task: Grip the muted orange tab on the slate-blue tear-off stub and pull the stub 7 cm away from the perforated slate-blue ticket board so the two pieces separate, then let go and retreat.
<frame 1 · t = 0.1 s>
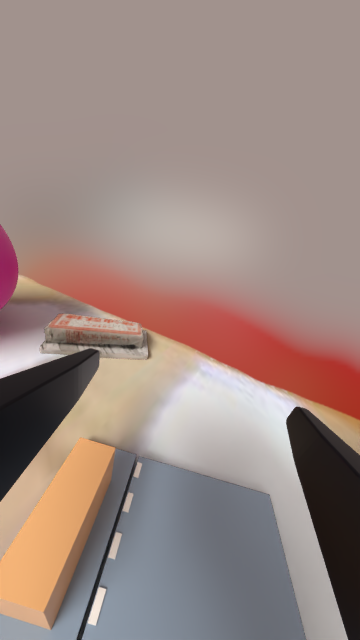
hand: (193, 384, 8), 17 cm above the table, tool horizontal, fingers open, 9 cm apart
stub: (68, 519, 12), point 3 cm above the table, slide at 0.0 cm
packaged product: (102, 344, 36), on the table
ticket board: (198, 576, 13), on the table
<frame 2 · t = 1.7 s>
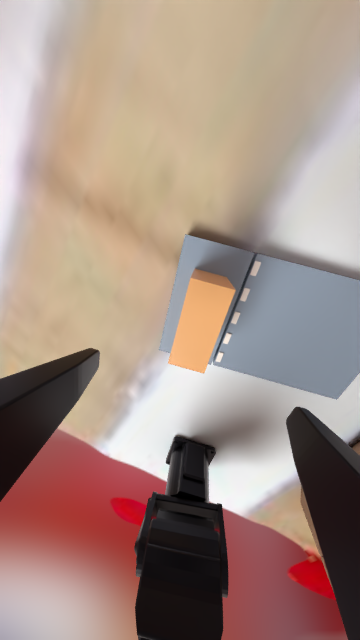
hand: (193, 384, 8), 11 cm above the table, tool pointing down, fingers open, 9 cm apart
stub: (199, 315, 16), point 3 cm above the table, slide at 0.0 cm
ticket board: (297, 331, 18), on the table
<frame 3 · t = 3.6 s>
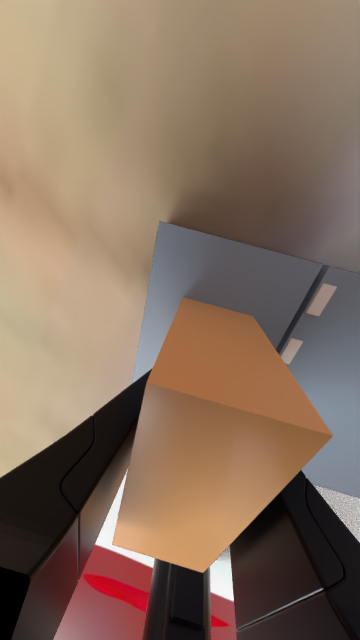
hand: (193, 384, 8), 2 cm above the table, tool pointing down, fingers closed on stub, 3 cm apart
stub: (192, 404, 7), point 3 cm above the table, slide at 0.0 cm, touching gripper
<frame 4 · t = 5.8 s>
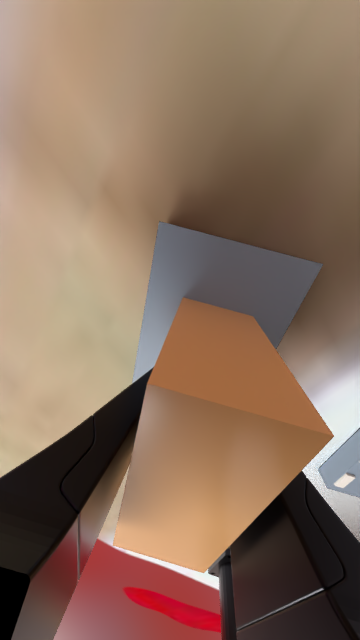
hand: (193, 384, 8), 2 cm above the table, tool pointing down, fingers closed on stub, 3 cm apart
stub: (192, 405, 7), point 3 cm above the table, slide at 6.9 cm, touching gripper
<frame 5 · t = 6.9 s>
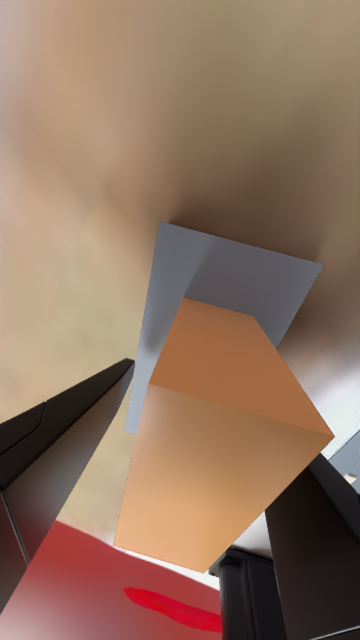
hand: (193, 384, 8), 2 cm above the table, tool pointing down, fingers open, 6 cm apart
stub: (192, 405, 7), point 3 cm above the table, slide at 6.9 cm
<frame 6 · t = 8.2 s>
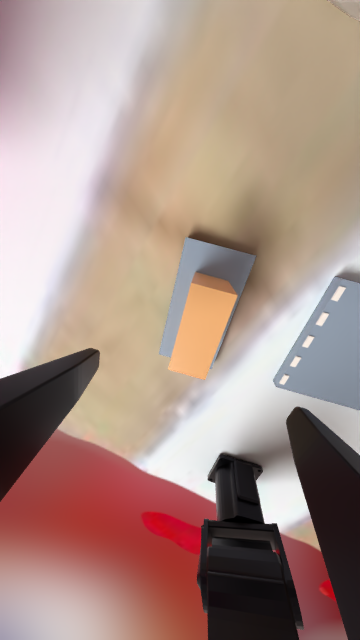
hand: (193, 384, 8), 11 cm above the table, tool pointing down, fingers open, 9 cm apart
stub: (199, 320, 15), point 3 cm above the table, slide at 6.9 cm
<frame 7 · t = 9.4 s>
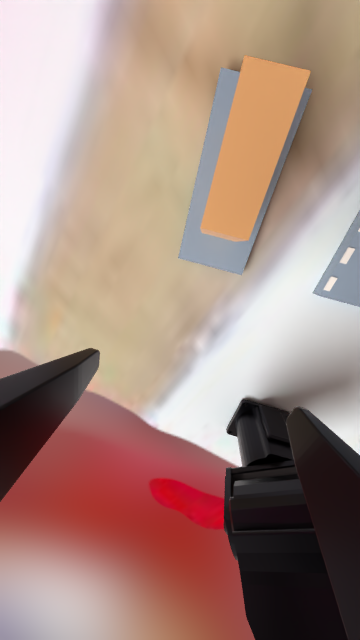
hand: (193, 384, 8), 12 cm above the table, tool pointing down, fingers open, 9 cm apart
stub: (237, 180, 12), point 3 cm above the table, slide at 6.9 cm
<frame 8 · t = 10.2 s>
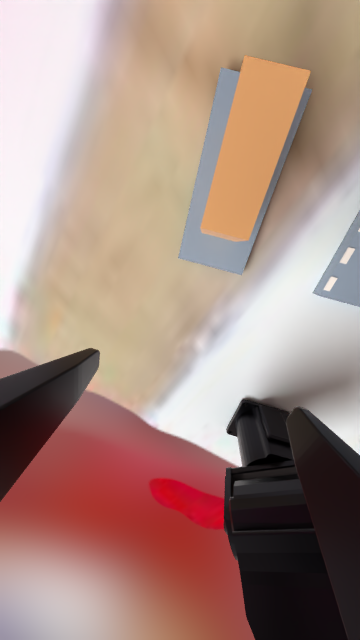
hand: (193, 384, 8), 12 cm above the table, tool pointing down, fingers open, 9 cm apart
stub: (237, 180, 12), point 3 cm above the table, slide at 6.9 cm
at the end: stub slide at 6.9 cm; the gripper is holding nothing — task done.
